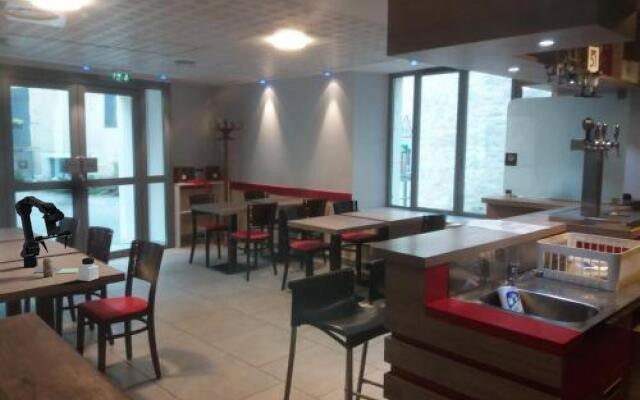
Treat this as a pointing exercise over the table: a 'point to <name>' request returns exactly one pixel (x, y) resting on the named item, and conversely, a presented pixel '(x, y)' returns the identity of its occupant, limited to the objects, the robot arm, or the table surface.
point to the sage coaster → (68, 271)
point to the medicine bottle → (88, 270)
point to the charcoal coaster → (42, 270)
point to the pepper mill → (47, 267)
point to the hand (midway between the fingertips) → (56, 251)
